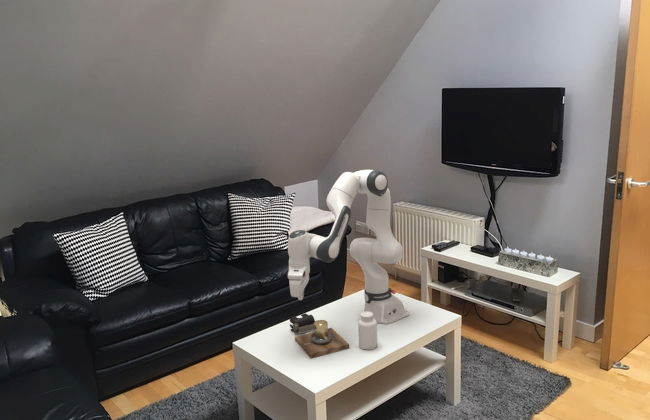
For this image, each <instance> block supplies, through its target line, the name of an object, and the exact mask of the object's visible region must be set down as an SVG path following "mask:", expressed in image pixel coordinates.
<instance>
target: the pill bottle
mask: <svg viewBox="0 0 650 420" xmlns="http://www.w3.org/2000/svg"><path fill="white" fill-rule="evenodd" d="M377 324H378V323H377V322H376V320H375V319H374V318H373V313H372V312H364V311H363V312H361V313H360V319H358V322H357V328H358V329H357V330H358V331H357V332H358V335H357V336H358V346H359V348H360V349H362V350H366V351H367V350H368V351H369V350H373V349H374V350H375V349H376V347H377V346H378V329H377V327H378V326H377Z"/></svg>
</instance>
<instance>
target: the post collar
mask: <svg viewBox="0 0 650 420" xmlns="http://www.w3.org/2000/svg"><path fill="white" fill-rule="evenodd" d="M331 341H332V335H331V334H330V333H329V332H328V337H327V339H326V340H324V339H318V338H316V337H315V336H314V333H313V334H312V335H311V342H312V343H313V344H315V345H326V344H329V343H330V342H331Z"/></svg>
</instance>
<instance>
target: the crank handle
mask: <svg viewBox="0 0 650 420" xmlns="http://www.w3.org/2000/svg"><path fill="white" fill-rule="evenodd" d="M292 325H293V332H292V333H293V334H294V335H298V334H302V333H306V332H311V331H313V332H314V336H315V337H316V338H318V339H324V340H326V339H327V337H328V328H329V325H328V321H327V320H325V319H318V320H315V322H314V324H310V325H306V326H302V327H299V324H298V323H295V324H292Z"/></svg>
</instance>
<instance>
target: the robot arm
mask: <svg viewBox="0 0 650 420" xmlns="http://www.w3.org/2000/svg"><path fill="white" fill-rule="evenodd" d="M388 183H389V181H388V176H387V174H386V173H385V172H383V171H381V170H378V169H361V170H359V169H357V170H353V171H346V172H343V173H342V174H341V175H340V176H339V177H338V178H337V180H336V181H335V182H334V184H333V186H332V187H331V189H330V190H329V193H327V197H326V200H325V201H326V205H327V207H328V210H329V211H330V212H331V213H332V214H333V215H334V216H335V220H334V223H333V225H332V227H331V230H330V233H329V235H328V236H325V237H324V236H322V235H318V234H315V233H309V232H307V231H306V230H303V229H296V230H294V231H291V232H290V234H289V235H288V239H287V254H288V256H289V259H288V272H287V279H288V281H289V292H290V296H291V297H292V298H297V300H298V301H302V300H303V299H304V297H305V296H304V295H305V288H306V287H307V285H308V283H309V280H310V275H309V274H310V272H311V267H310V265H311V264H310V259H311V258H314V259H316V260H320V261H322V262H323V263H332V262H333V261H335V260H336V259H337V257H338V256H339V254H340V250H341V245H342V242H343V239H344V237H345V234H346V232H347V228H348V226H349V223H350V220H351V216H352V210H351V206H352V204H353V202H354V200H355V197H356V196H357V195H358V194H363V195H366V196H367V204H366V205H367V206H366V215H365V216H366V217H365V224H366V226H367V229H369V230H371V231H372V232H373V233H374V234H375V237H376V238H372V237H358V238H354V239H353V240H352V241H351V243H350V245H349V253H350V255H351V258H353V259H354V260H355V261H356V262H357V263H358V265H360V268H361V269H362V272H363V276H364V277H363V278H364V286H365V288H364V291H363V293H364V294H363V295H364V297H363V298H364V308H363V312H372V313H373V318H374V319H375V320H376V322H377V324H383V325H389V324H391V323H393V322H397V321H399V320H401V319H404V318H406V317H409V316H410V312H409V310H408V309H407V308H406V307H405V306H404V303H403V301H402V300H401V299H399V298H398V297H397V296H395V295H396V294H397V290H396V289H394V288H391V287H389V274H388V272H387V271H386V269H384V268H383V267H381V266H380V264H385V265H386V264H387V265H391V264H398V263H399V262H400V261H401V260H402V259H403V255H404V249H403V246H402V244H401V243H400V242H399V241H398V240H397V239H396V238H395V236H394V233H393V231H392V229H391V228H392V227H391V209H392V198H391V191H390V189H389V188H388V187H389V186H388V185H389V184H388Z"/></svg>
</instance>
